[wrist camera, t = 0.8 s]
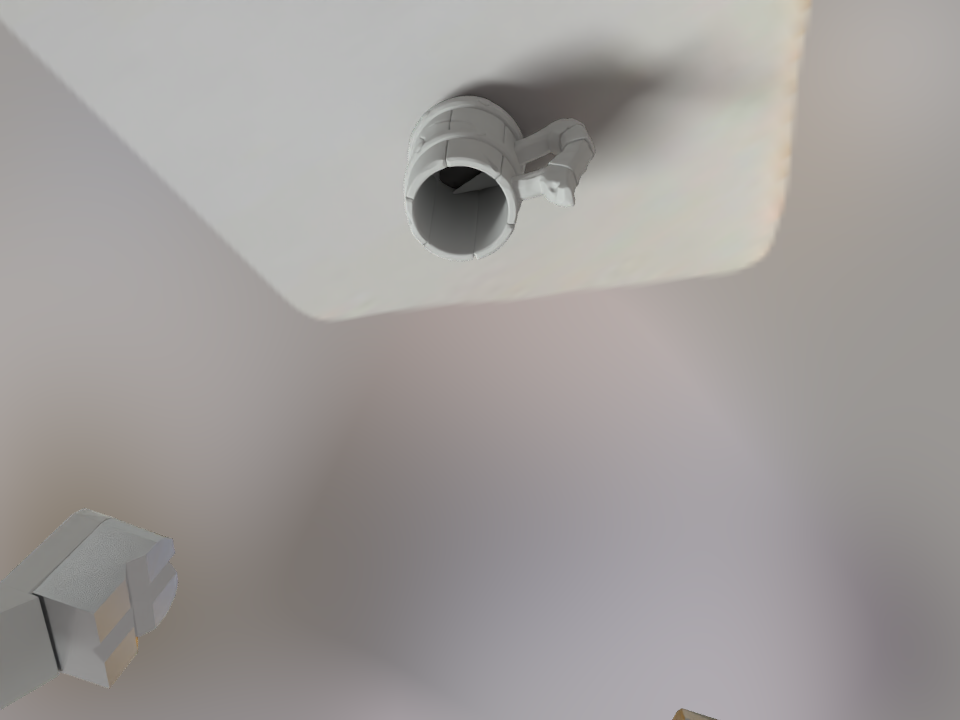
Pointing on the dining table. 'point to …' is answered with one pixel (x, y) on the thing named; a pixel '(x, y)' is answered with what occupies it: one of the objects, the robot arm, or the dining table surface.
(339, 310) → the dining table surface
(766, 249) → the dining table surface
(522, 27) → the dining table surface
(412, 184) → the mug
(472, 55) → the dining table surface
